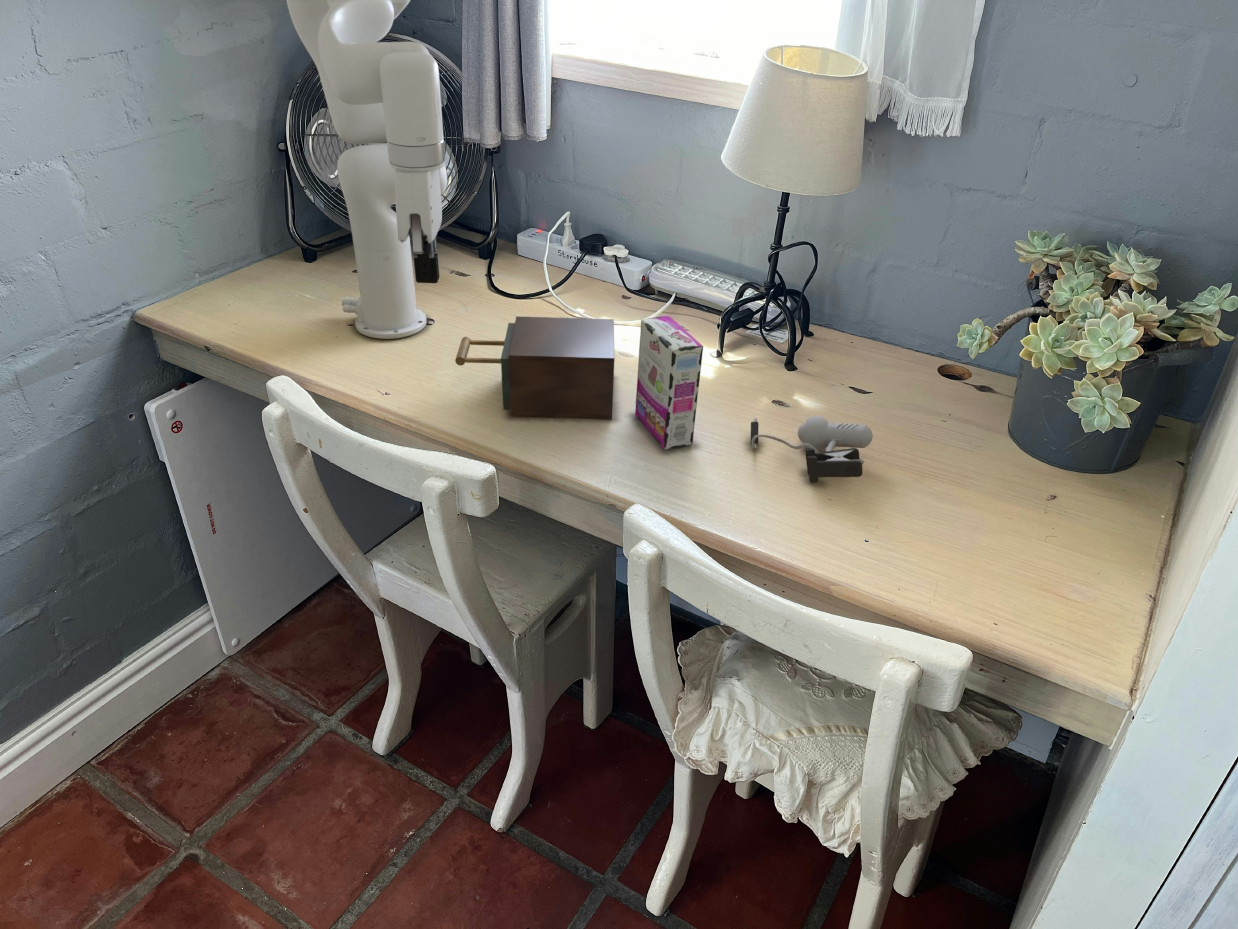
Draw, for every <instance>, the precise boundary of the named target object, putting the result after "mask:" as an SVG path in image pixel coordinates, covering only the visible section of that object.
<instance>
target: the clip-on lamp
mask: <svg viewBox="0 0 1238 929" xmlns="http://www.w3.org/2000/svg"><path fill="white" fill-rule="evenodd" d="M759 428H760V427H759V421H758V418H756V417H754V418H753V420H752V421H751V422H750V446H751V448H752V449H757V445H758V444H759V438H765V439H766V438H767V439H771V440H774V441H777V442H779V443H781V444H784V445H786V446H788V447H789V448H791V449H793V450H801V449H803V448H805V461H806V462H805V463H806V472H807V475H808V480H809V483H818V482H819V481H820V480H819V479H820V478H859V477H862V476H863V471H864V470H863V464H864V463H865V460H864V459H862V458H860V450H859V449H865V448H867V447H868V446H869V445H871V443H872V441H873V431H872V429H871V428H870V426H869V425H867V424H864V423H863V424H862V423H848V422H833V421H829V420H828V419H827V418H825V417H823V416H820V415H812V416H809V417H807V418H806V420H805V422H802V423H801V424H800V426H799V427H798V429H797V436H798V439H799V441H800V442H802V443H801V444H799V445H793V444H791V443H790V442H788V441H786V440H784V439H781V438H780V437H776V436H773V435H768V434H759ZM836 447H837V448H843V449H835V448H836ZM824 449H825V451H822V450H824Z"/></svg>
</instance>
